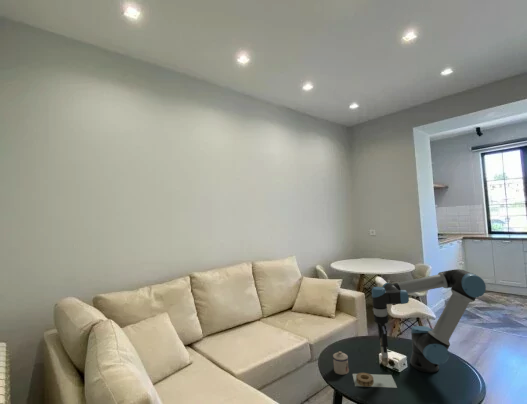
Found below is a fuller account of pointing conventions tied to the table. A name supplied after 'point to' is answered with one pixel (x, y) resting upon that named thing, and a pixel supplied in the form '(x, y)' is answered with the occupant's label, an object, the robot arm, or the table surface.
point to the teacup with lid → (340, 363)
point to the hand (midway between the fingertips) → (384, 355)
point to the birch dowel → (384, 360)
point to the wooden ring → (361, 379)
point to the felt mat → (379, 381)
